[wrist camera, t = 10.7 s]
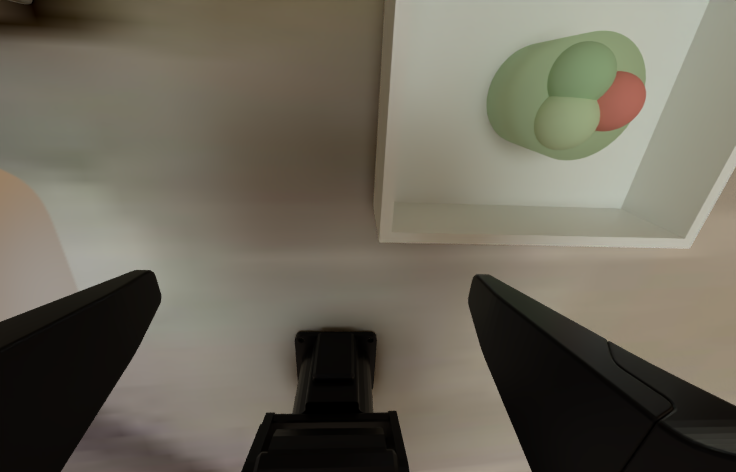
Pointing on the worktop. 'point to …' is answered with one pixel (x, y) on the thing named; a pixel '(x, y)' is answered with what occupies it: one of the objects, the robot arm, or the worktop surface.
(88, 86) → the worktop surface
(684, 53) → the serving bin
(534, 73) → the salad portion
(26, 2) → the coffee box
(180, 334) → the worktop surface
